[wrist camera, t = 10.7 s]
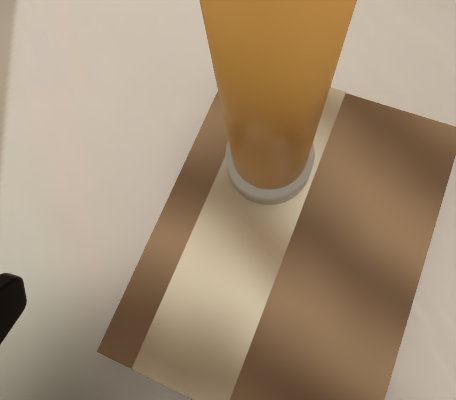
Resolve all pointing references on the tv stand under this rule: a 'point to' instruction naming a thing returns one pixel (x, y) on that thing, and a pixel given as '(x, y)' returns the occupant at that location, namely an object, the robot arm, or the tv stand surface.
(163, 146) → the tv stand surface
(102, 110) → the tv stand surface
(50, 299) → the tv stand surface
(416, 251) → the subfloor panel
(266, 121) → the orange rounded post
